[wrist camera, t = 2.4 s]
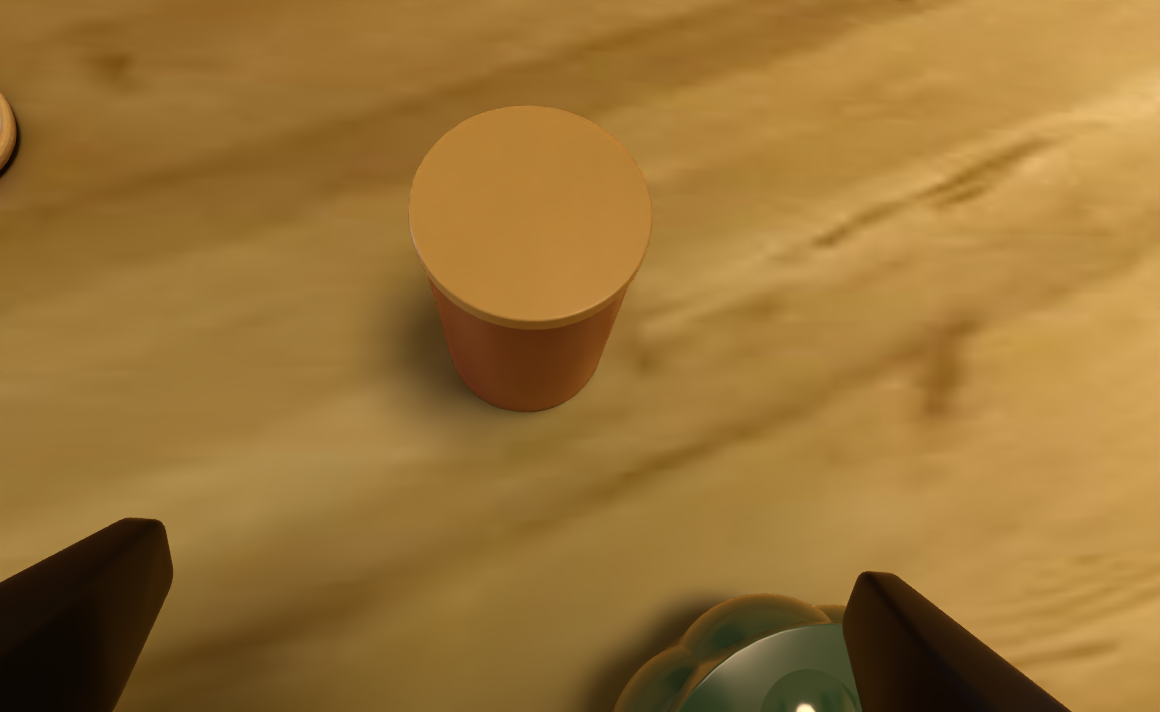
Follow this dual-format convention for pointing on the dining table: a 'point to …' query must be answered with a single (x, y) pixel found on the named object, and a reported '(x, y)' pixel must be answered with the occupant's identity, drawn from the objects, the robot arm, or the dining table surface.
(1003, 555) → the dining table surface
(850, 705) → the lidded pot
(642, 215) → the tea canister
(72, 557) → the robot arm
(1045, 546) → the dining table surface
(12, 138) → the cookie
